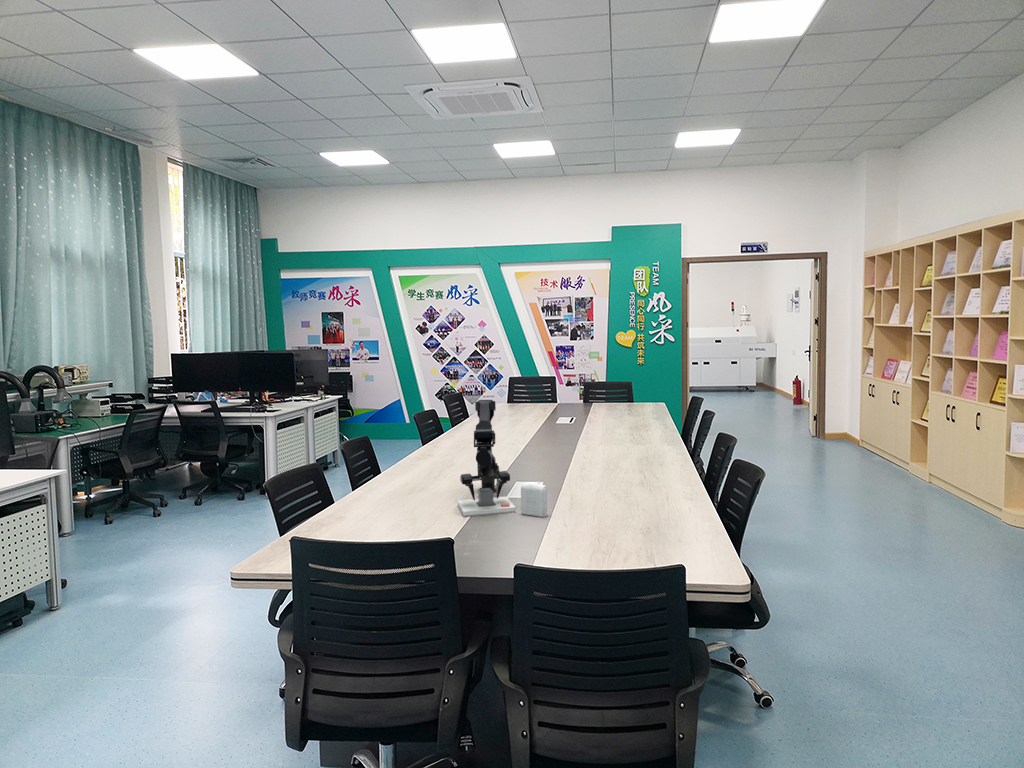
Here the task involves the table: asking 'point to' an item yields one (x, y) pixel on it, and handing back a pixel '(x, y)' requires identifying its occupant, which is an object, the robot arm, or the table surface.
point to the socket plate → (486, 507)
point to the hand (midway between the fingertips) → (485, 499)
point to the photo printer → (534, 499)
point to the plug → (485, 497)
